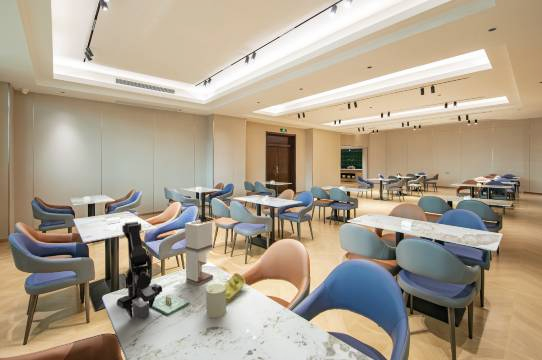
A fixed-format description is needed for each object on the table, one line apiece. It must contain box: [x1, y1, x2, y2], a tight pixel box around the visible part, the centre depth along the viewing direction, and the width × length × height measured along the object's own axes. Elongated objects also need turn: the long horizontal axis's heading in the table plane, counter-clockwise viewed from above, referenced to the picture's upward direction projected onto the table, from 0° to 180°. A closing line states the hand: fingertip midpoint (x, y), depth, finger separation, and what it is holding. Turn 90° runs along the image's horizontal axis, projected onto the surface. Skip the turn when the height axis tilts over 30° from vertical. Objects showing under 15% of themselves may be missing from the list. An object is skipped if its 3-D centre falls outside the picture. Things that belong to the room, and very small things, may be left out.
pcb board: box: [152, 293, 190, 316], centre depth 131 cm, size 16×12×4 cm
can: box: [205, 283, 227, 319], centre depth 123 cm, size 9×9×12 cm
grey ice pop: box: [132, 299, 150, 321], centre depth 122 cm, size 10×4×6 cm, turn 57°
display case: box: [184, 219, 214, 286], centre depth 158 cm, size 11×11×35 cm
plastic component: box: [223, 272, 246, 303], centre depth 142 cm, size 20×7×10 cm
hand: (141, 313), depth 121 cm, fingers open, 9 cm apart
